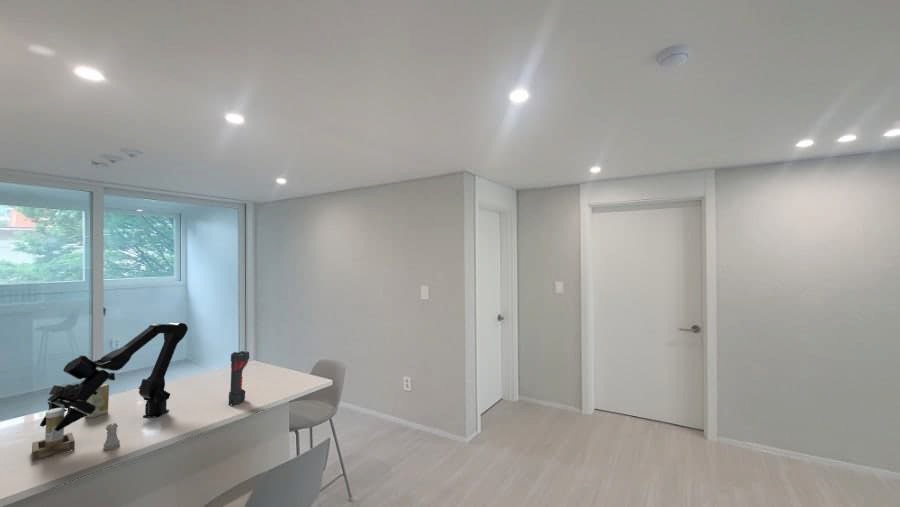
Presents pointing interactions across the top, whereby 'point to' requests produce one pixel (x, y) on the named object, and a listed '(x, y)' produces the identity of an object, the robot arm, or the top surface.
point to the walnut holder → (52, 447)
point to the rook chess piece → (111, 437)
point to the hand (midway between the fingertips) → (48, 428)
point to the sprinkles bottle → (54, 426)
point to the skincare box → (100, 401)
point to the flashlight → (237, 376)
